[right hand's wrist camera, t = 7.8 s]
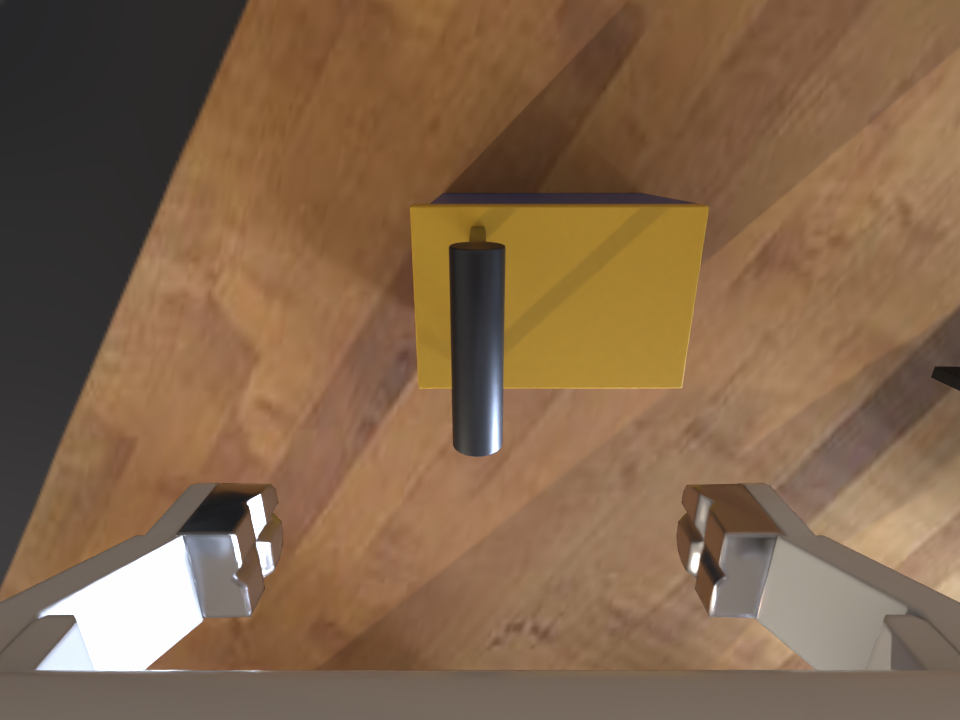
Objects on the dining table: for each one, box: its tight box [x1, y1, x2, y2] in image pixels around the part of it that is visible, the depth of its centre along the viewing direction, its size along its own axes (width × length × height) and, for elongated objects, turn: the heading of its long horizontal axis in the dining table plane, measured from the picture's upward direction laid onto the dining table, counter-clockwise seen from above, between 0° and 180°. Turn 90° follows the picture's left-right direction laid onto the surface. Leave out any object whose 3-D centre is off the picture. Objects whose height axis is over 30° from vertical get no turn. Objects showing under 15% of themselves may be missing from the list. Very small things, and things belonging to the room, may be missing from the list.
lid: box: [410, 204, 709, 457], centre depth 23 cm, size 14×9×9 cm, turn 90°
